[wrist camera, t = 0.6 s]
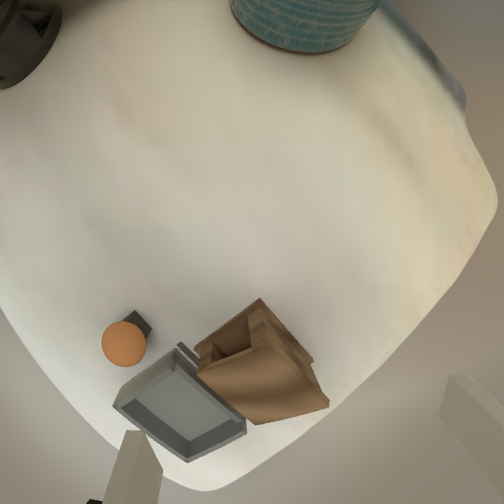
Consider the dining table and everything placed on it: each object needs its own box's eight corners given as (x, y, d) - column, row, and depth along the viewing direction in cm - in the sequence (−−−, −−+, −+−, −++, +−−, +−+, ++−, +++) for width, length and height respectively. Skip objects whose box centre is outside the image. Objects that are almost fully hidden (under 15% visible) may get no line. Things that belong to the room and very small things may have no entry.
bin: (121, 386, 36) (112, 406, 32) (175, 348, 35) (168, 367, 31) (189, 442, 39) (187, 463, 35) (245, 411, 38) (247, 433, 34)
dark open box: (119, 323, 34) (112, 332, 32) (134, 310, 34) (128, 318, 32) (135, 341, 35) (130, 350, 32) (151, 328, 35) (146, 337, 32)
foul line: (176, 344, 35) (176, 345, 35) (181, 341, 35) (180, 342, 35) (249, 410, 38) (249, 411, 38) (253, 408, 38) (253, 409, 38)
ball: (102, 329, 32) (86, 349, 27) (129, 306, 32) (114, 324, 27) (131, 359, 33) (119, 382, 28) (159, 338, 33) (149, 361, 28)
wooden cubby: (194, 346, 35) (184, 397, 26) (259, 297, 35) (271, 339, 25) (251, 399, 38) (257, 452, 28) (312, 358, 37) (335, 406, 27)
